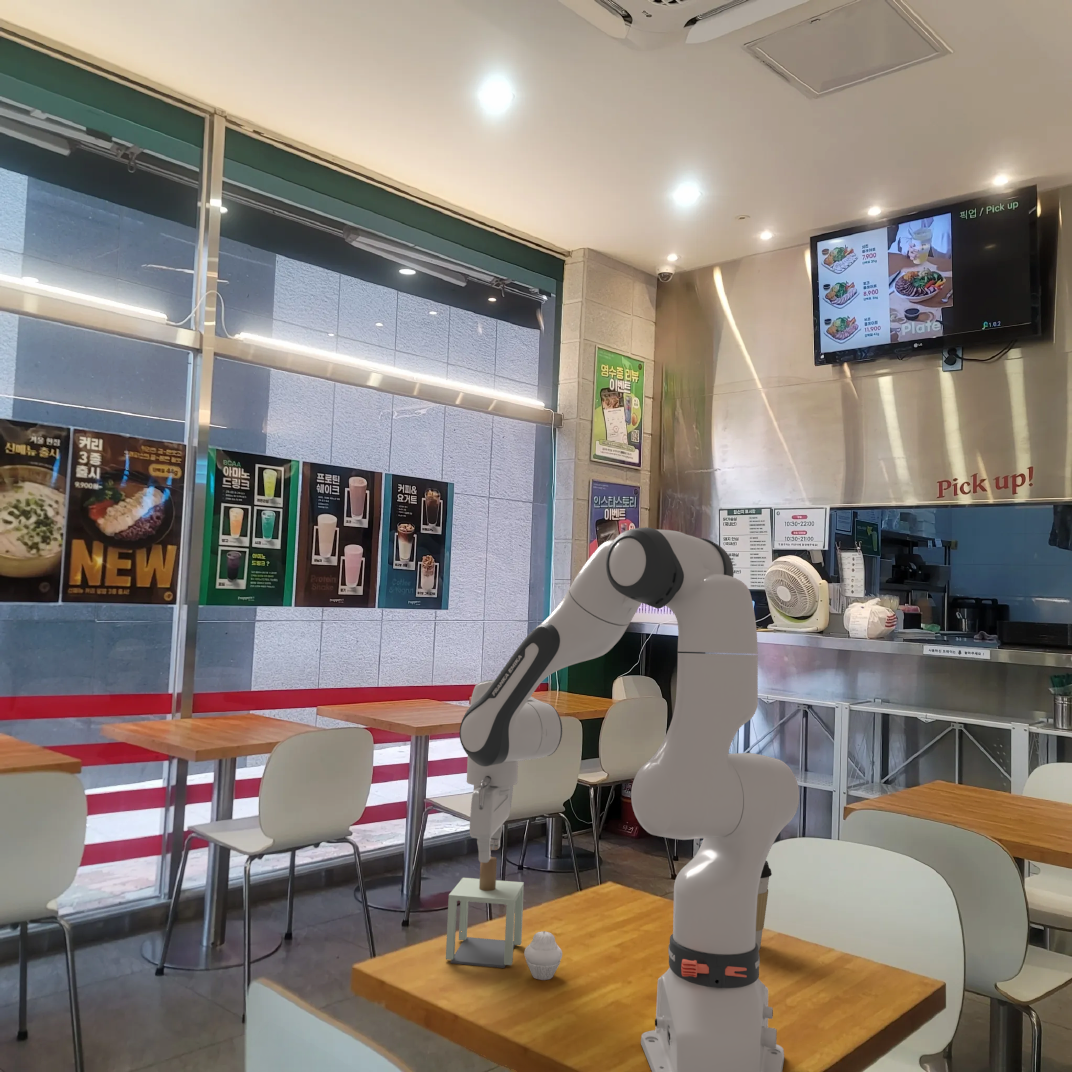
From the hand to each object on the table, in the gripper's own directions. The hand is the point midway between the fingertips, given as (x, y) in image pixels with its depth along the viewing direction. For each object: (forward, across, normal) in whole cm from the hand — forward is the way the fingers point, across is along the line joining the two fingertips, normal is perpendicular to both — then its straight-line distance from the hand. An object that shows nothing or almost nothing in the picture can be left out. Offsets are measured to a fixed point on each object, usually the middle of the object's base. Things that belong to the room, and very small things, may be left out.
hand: (489, 855), depth 158 cm
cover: (+16, 0, 0) cm, 16 cm away
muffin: (+17, -8, -11) cm, 21 cm away
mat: (+16, 0, 0) cm, 16 cm away
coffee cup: (+17, +15, -44) cm, 50 cm away
